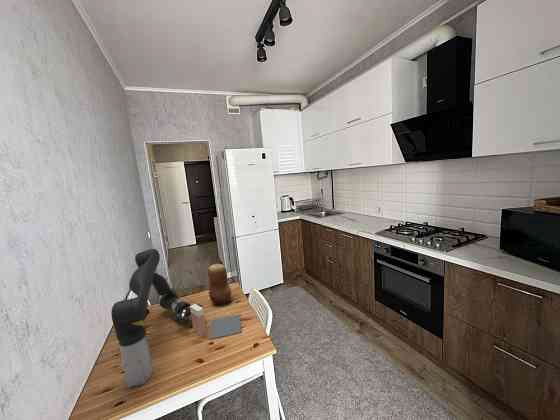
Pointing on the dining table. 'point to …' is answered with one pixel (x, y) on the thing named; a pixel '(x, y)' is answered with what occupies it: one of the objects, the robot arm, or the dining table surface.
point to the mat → (225, 327)
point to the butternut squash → (218, 284)
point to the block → (198, 320)
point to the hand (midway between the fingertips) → (195, 317)
